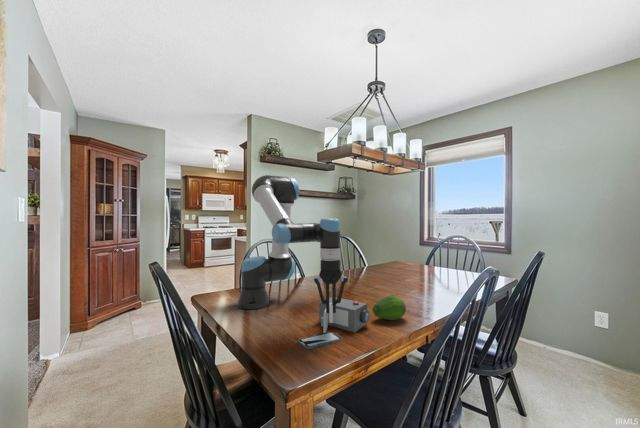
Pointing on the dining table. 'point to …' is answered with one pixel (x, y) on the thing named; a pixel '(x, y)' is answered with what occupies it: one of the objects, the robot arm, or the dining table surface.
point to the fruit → (389, 308)
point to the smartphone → (319, 340)
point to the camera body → (347, 314)
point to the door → (325, 321)
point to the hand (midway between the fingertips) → (331, 321)
